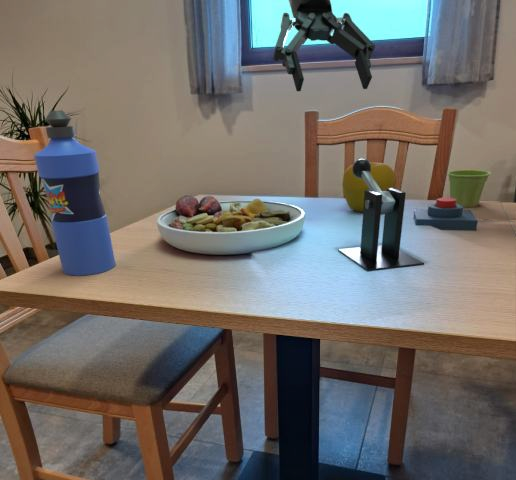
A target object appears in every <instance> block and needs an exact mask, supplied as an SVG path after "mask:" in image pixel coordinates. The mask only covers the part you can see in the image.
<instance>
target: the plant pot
mask: <svg viewBox="0 0 516 480" xmlns="http://www.w3.org/2000/svg"><path fill="white" fill-rule="evenodd" d="M490 175H491V171H488V170H477V169H456V170H450V171H448V172H447V176H448V181H449V198H454V199H456V200H457V201H456V204H459V205H462V206H463V208H474V207H478V206H479V203H480V200H481V196H482V193H483V191H484V187H485V184H486V182H487V181H488V178H489V176H490Z"/></svg>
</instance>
